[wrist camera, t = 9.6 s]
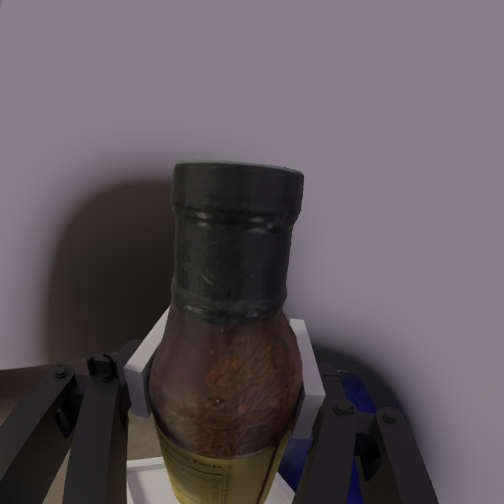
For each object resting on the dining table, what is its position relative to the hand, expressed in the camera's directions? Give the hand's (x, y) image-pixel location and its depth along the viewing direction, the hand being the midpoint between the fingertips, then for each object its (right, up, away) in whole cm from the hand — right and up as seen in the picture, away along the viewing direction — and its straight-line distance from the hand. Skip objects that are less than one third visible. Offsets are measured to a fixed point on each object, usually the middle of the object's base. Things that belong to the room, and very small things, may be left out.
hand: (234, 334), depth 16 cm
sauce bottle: (-1, -12, -3) cm, 12 cm away
